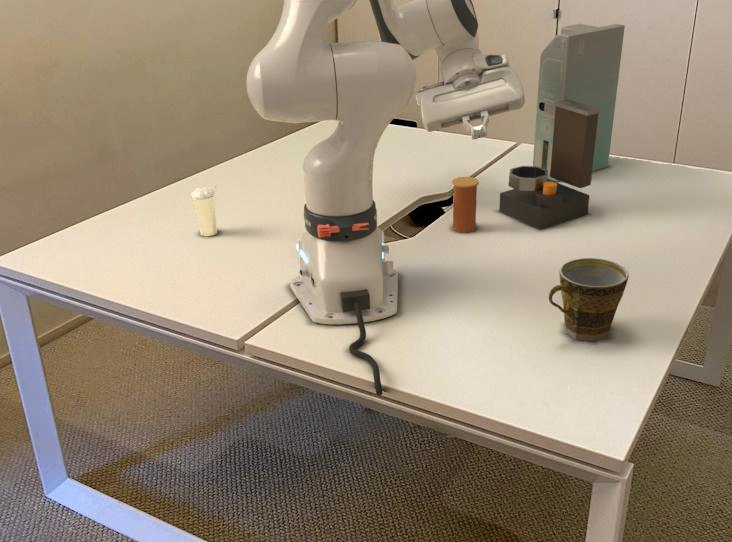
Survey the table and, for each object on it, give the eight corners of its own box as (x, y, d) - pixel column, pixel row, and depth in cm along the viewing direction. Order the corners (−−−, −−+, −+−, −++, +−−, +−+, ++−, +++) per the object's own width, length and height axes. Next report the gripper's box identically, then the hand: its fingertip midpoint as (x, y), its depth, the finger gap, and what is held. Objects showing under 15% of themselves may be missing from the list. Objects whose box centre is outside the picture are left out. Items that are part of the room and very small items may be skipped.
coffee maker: (501, 183, 168) (505, 107, 160) (550, 169, 174) (556, 96, 166) (542, 200, 160) (548, 121, 151) (591, 185, 166) (600, 108, 157)
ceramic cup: (591, 310, 135) (598, 252, 130) (634, 336, 128) (643, 276, 122) (525, 330, 130) (529, 271, 125) (566, 359, 123) (572, 298, 117)
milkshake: (219, 238, 164) (212, 189, 159) (193, 237, 165) (185, 187, 160) (227, 229, 168) (220, 180, 162) (202, 228, 169) (194, 179, 163)
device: (583, 158, 198) (598, 20, 181) (608, 166, 192) (625, 25, 176) (531, 172, 190) (541, 30, 174) (555, 182, 185) (568, 36, 168)
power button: (539, 193, 164) (540, 183, 162) (549, 190, 165) (550, 180, 164) (549, 197, 162) (549, 187, 161) (559, 194, 163) (559, 184, 162)
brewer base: (499, 211, 172) (500, 182, 168) (546, 197, 177) (548, 169, 174) (541, 230, 163) (543, 200, 159) (589, 215, 168) (593, 186, 165)
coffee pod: (479, 231, 163) (481, 184, 158) (454, 234, 162) (455, 186, 157) (473, 222, 167) (474, 175, 162) (448, 224, 167) (449, 177, 161)
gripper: (411, 80, 164) (425, 141, 160) (514, 52, 162) (531, 113, 158) (415, 99, 170) (429, 158, 166) (515, 72, 168) (531, 132, 164)
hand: (479, 136), depth 162 cm, fingers closed
